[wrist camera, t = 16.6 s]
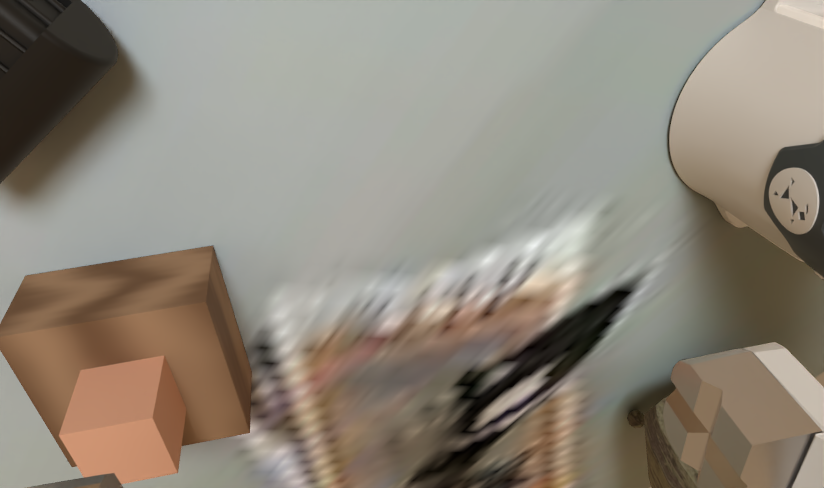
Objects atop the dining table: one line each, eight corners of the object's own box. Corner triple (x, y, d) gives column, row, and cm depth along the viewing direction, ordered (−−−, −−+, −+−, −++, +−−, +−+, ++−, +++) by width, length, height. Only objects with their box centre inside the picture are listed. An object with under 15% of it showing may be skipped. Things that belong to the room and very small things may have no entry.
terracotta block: (164, 355, 40) (152, 417, 36) (186, 409, 42) (177, 472, 38) (80, 370, 39) (58, 435, 35) (108, 423, 42) (91, 489, 38)
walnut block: (212, 245, 43) (205, 301, 38) (251, 371, 50) (249, 432, 45) (25, 275, 41) (-8, 338, 37) (91, 400, 48) (71, 467, 43)
